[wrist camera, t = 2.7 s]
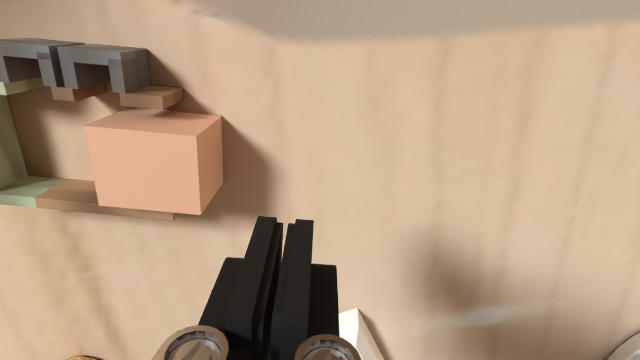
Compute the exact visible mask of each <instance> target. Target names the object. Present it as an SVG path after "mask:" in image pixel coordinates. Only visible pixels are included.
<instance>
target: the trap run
mask: <svg viewBox="0 0 640 360" xmlns="http://www.w3.org/2000/svg"><path fill="white" fill-rule="evenodd" d="M107 65H109V72H110V79H111V85H112V92H113V93H119V97H120V104H121V106H127V107H138V108H149V109H160V110H164V109H166V108H168V107H170V106H172V105H174V104H176V103H178V102H180V101H182V100H184V95H183V88H177V87H166V86H155V85H151V81H150V72H149V62H148V53H147V49H142V48H131V47H120V46H110V45H99V44H84V43H77V42H66V41H55V40H44V39H33V38H22V39H1V40H0V204H2V205H13V206H24V207H35V208H46V209H56V210H67V211H78V212H89V213H99V214H110V215H121V216H132V217H143V218H153V219H164V220H174V219H175V218H176V217H177V216H178V214H179V213H174V212H163V211H152V210H141V209H131V208H120V207H109V206H99V203H98V198H97V192H96V187H95V182H93V181H83V180H72V179H61V178H50V177H40V176H29V175H28V174H27V170H26V166H25V162H24V159H23V155H22V151H21V147H20V144H19V140H18V136H17V132H16V129H15V125H14V121H13V118H12V114H11V110H10V106H9V103H8V99H7V95H11V94H15V93H20V92H24V91H29V90H33V89H38V88H43V87H46V86H48V87H50V88H51V92H52V97H53V100H62V101H73V102H75V101H78V100H81V99H85V98H88V97H91V96H95V95H98V94H101V93H105V85H104V83H105V82H109V75H108V69H107Z"/></svg>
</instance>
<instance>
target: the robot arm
mask: <svg viewBox="0 0 640 360" xmlns="http://www.w3.org/2000/svg"><path fill="white" fill-rule="evenodd" d="M313 223H314V220H301V219H296V222H295V224H292V223H289V224H288V229H287V235H286V240H285V246H284V252H283V258H282V240H283V223H279V222H277V218H276V217H263V216H258V218H257V221H256V224H255V227H254V230H253V233H252V236H251V239H250V242H249V245H248V248H247V251H246V254H245V257H244V258H231V257H227V258H226V259H225V261H224V263H223V266H222V268H221V270H220V273H219V275H218V278H217V280H216V283H215V285H214V287H213V290H212V292H211V295H210V297H209V300H208V302H207V304H206V307H205V309H204V312H203V314H202V317H201V319H200V321H199V324H198V325H196V326H191V327H187V328H184V329H182V330H179V331H177V332H176V333H174V334H173V335H171V336H170V337H168V338H167V340H166V341H165V342H164V343H163V344H162V345H161V346H160V348H159V349H158V351H157V352H156V354H155V355H154V357H153V358H152V360H361V358H360V355H359V353H358V351H357V350H356V349H355V347H354V346H353V345H352V344H351V343H350V342H348V341H347V340H345V339H344V338H341V337H340V333H339V311H338V290H337V269H336V265H324V264H311V260H312V241H313ZM281 261H282V263H281ZM607 360H640V332H639V333H638V334H636V335H634V336H633V337H631V338H630V339H629V340H627V341H626V342H625V343H623V344H622V345H621V346H620V347H618V348H617V349H616V350H615V351H614V352H613V353H612V355H611V356H610V357H609V358H608V359H607Z"/></svg>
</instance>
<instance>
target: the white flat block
mask: <svg viewBox="0 0 640 360" xmlns="http://www.w3.org/2000/svg"><path fill="white" fill-rule="evenodd" d="M339 333H340V337H341V338H344V339H345V340H347V341H348V342H350V343H351V344H352V345H353V346H354V347H355V349H356V350H357V351H358V353H359V355H360V358H361V360H384V358H383V356H382V354H381V352H380V350H379V349H378V347H377V345H376V343H375V341H374V339H373V337H372V335H371V333H370V331H369V329H368V328H367V326H366V324H365V322H364V320H363V318H362V316H361V314H360V312H359V310H358V308H356V309H353V310H350V311H346V312H343V313H340V314H339Z"/></svg>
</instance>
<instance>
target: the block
mask: <svg viewBox="0 0 640 360" xmlns="http://www.w3.org/2000/svg"><path fill="white" fill-rule="evenodd" d="M84 129H85V134H86V139H87V145H88V150H89V155H90V161H91V166H92V171H93V176H94V182H95V187H96V192H97V198H98V203H99V206H109V207H120V208H131V209H141V210H152V211H163V212H174V213H185V214H196V215H201V214H202V213H203V211H204V210H205V208H206V207H207V205H208V204H209V203H210V201H211V200H212V198H213V197H214V195H215V194H216V193H217V191H218V190H219V188H220V187H221V185H222V184H223V183H224V181H223V145H222V116H221V115H210V114H199V113H188V112H177V111H167V110H156V109H145V108H134V107H129V108H127V109H124V110H122V111H119V112H117V113H115V114H112V115H110V116H107V117H105V118H102V119H100V120H97V121H95V122H93V123H90V124H88V125H85V126H84Z"/></svg>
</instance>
